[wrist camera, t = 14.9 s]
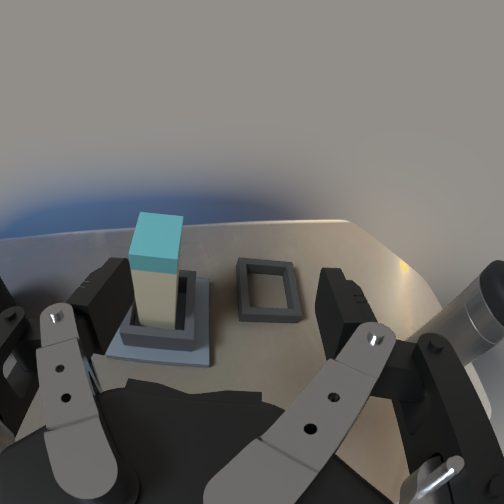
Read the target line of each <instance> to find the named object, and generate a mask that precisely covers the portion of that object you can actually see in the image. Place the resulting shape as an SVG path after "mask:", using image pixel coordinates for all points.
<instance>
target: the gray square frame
mask: <svg viewBox="0 0 504 504" xmlns="http://www.w3.org/2000/svg"><path fill="white" fill-rule="evenodd" d="M247 273H258V274H270V275H283V281H284V287H285V293H286V299H287V305H288V309H278V308H257V307H250V304H249V292H248V280H247ZM236 274H237V292H238V309H239V321H247V322H274V323H298V321H299V320H300V319H301V317H302V316H303V315H302V310H301V305H300V299H299V294H298V289H297V284H296V279H295V274H294V269H293V264H292V262H282V261H271V260H260V259H250V258H238V262H237V265H236Z"/></svg>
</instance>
